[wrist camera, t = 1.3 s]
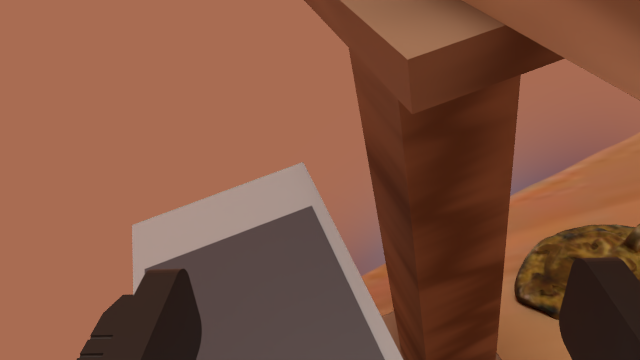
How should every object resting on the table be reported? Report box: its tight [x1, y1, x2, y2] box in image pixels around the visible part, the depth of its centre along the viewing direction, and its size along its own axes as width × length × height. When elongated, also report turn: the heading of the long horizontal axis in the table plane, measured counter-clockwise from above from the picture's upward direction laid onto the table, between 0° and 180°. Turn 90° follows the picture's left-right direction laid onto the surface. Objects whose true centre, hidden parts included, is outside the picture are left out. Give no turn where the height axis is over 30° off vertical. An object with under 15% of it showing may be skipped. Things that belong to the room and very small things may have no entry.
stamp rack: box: [304, 0, 565, 360], centre depth 27 cm, size 8×14×32 cm, turn 18°
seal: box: [515, 224, 640, 320], centre depth 40 cm, size 9×5×15 cm
